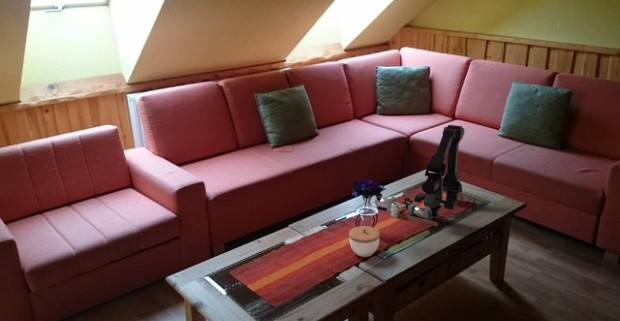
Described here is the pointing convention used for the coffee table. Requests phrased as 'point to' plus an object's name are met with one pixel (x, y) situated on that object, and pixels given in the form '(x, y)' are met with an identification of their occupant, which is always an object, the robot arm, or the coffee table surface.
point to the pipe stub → (385, 203)
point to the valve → (399, 207)
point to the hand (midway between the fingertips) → (434, 217)
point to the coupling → (419, 211)
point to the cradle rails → (426, 220)
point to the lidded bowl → (364, 240)
